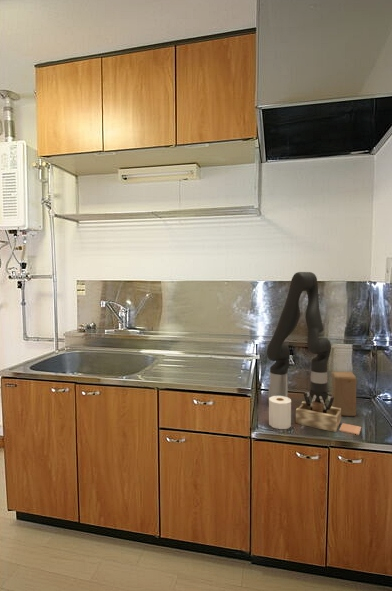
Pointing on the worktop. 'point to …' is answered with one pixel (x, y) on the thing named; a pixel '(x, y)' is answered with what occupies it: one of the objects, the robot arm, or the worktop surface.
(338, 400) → the wooden block
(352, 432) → the tile
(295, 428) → the worktop surface
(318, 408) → the walnut block
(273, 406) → the toilet paper
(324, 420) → the crate
